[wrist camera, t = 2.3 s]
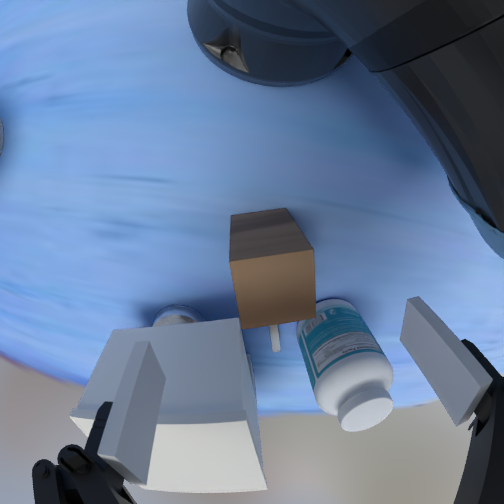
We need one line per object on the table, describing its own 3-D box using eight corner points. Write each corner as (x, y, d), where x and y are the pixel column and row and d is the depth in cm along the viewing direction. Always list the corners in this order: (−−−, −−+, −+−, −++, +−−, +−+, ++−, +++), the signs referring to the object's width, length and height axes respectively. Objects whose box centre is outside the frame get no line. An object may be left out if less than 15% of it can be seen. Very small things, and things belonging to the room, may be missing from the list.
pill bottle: (343, 349, 33) (381, 435, 21) (287, 345, 32) (310, 443, 20) (366, 298, 31) (423, 383, 18) (306, 291, 30) (346, 389, 17)
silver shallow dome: (147, 307, 30) (141, 321, 27) (200, 300, 29) (197, 314, 27) (164, 348, 32) (160, 362, 30) (213, 343, 32) (212, 358, 30)
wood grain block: (230, 215, 26) (229, 261, 17) (285, 207, 26) (313, 249, 17) (251, 340, 32) (258, 410, 22) (295, 333, 32) (315, 401, 23)
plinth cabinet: (126, 300, 29) (68, 416, 14) (239, 286, 29) (246, 420, 14) (162, 384, 34) (142, 488, 20) (255, 376, 34) (267, 489, 20)
